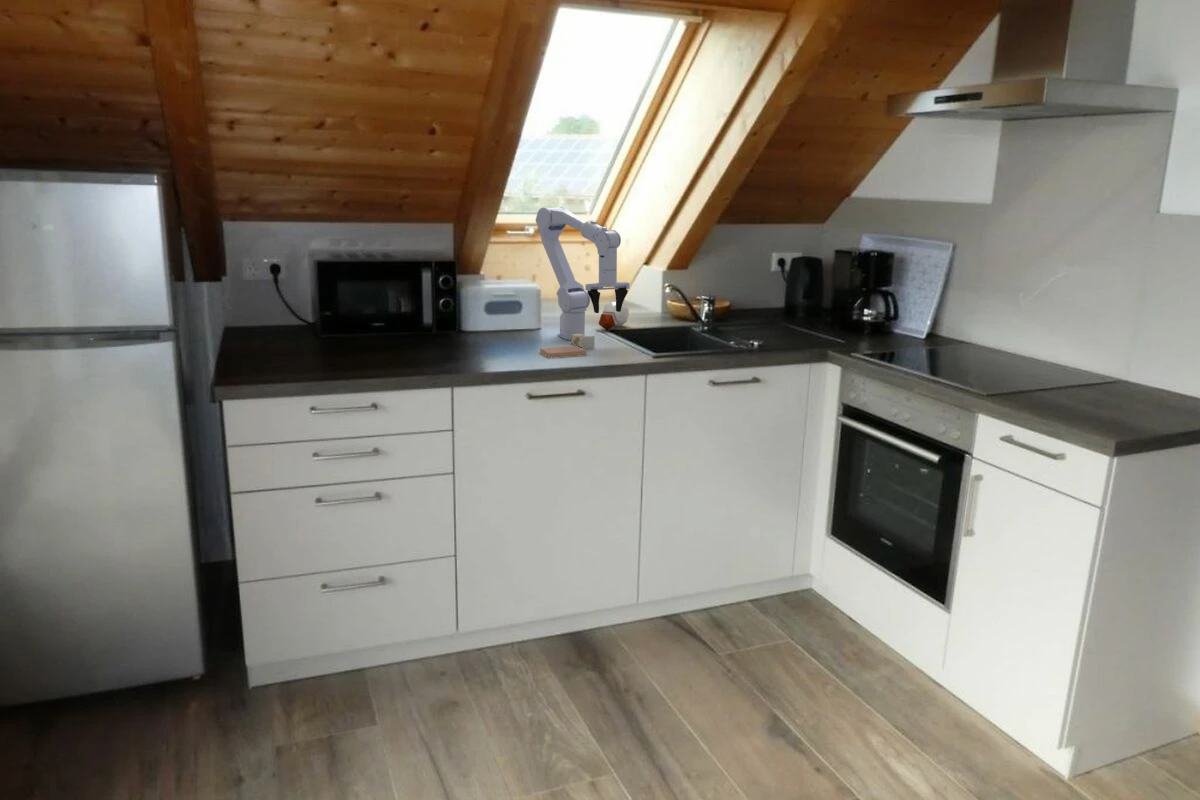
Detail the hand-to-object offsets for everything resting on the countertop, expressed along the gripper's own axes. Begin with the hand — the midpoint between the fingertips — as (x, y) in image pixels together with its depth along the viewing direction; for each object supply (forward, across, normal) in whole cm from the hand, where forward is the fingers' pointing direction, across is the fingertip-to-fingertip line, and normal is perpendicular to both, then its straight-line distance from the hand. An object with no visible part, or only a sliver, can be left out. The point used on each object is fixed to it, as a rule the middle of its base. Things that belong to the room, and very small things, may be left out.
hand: (607, 312), depth 282 cm
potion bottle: (+10, +14, +27) cm, 32 cm away
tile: (+10, -19, -6) cm, 23 cm away
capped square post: (+10, -9, +1) cm, 14 cm away
